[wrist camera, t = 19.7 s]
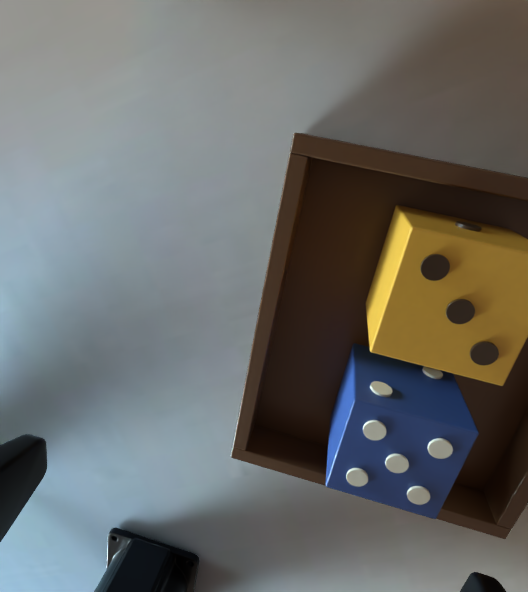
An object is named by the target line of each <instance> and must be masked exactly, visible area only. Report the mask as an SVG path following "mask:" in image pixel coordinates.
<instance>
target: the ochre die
mask: <svg viewBox="0 0 528 592" xmlns="http://www.w3.org/2000/svg"><path fill="white" fill-rule="evenodd" d="M366 314H367V324H368V335H369V346H370V352H372V353H376V354H380V355H384V356H388V357H391V358H395V359H399V360H403V361H407V362H411V363H415V364H419V365H422V366H426V367H430V368H434V369H438V370H442V371H446V372H450V373H453V374H457V375H461V376H465V377H469V378H473V379H477V380H481V381H484V382H488V383H492V384H496V385H500V386H503V385H504V383H505V381H506V379H507V377H508V375H509V373H510V371H511V369H512V367H513V365H514V363H515V361H516V359H517V357H518V355H519V353H520V351H521V349H522V347H523V345H524V343H525V342H526V340H527V338H528V239H526V238H525V237H523V236H521V235H519V234H517V233H516V232H514V231H512V230H510V229H507V228H502V227H498V226H493V225H488V224H484V223H479V222H474V221H470V220H465V219H461V218H456V217H451V216H447V215H442V214H437V213H433V212H428V211H423V210H419V209H414V208H409V207H405V206H400V205H396V207H395V210H394V213H393V216H392V219H391V223H390V226H389V229H388V232H387V236H386V239H385V242H384V245H383V248H382V252H381V255H380V258H379V261H378V265H377V268H376V271H375V274H374V277H373V281H372V284H371V287H370V290H369V293H368V297H367V300H366Z"/></svg>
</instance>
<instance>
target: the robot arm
mask: <svg viewBox="0 0 528 592" xmlns="http://www.w3.org/2000/svg"><path fill="white" fill-rule="evenodd" d="M46 469H47V451H46V441H45V440H44V439H43V438H40V437H37V436H34V435H30V434H25V435H22V436H20V437H17V438H15V439H13V440H10V441H8V442H6V443H4V444H1V445H0V542H1V540H2V539H3V538H4V536H5V535H6V533H7V532H8V530H9V529H10V527H11V526H12V524H13V523H14V521H15V520H16V518H17V516H18V515H19V513H20V512H21V510H22V509H23V507H24V506H25V504H26V503H27V501H28V500H29V498H30V497H31V495H32V494H33V492H34V491H35V489H36V488H37V486H38V485H39V483H40V482H41V480H42V479H43V477H44V475H45V473H46ZM198 565H199V557H198V556H197V555H196V554H194V553H191V552H188V551H185V550H182V549H179V548H176V547H173V546H170V545H167V544H164V543H161V542H158V541H155V540H152V539H149V538H146V537H143V536H140V535H137V534H134V533H131V532H128V531H125V530H122V529H119V528H113V529H111V531H110V533H109V534H108V545H107V570H106V572H105V574H104V575H103V577H102V579H101V581H100V582H99V584H98V586H97V588H96V589H95V591H94V592H194V588H195V582H196V576H197V571H198ZM460 592H506V591H505V589H504V588H503V586H502V585H501V584H500V583H499V582H498V581H497V580H496V579H495V578H493V577H490V576H487V575H484V574H481V573H477V572H474V573H471V574H470V576H469V577H468V579H467V581H466V582H465V584H464V586H463V587H462V589H461V591H460Z"/></svg>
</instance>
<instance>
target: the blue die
mask: <svg viewBox="0 0 528 592" xmlns="http://www.w3.org/2000/svg"><path fill="white" fill-rule="evenodd" d="M478 435H479V432H478V429H477V427H476V425H475V422H474V420H473V418H472V416H471V413H470V411H469V409H468V407H467V404H466V402H465V400H464V397H463V395H462V393H461V391H460V388H459V386H458V384H457V381H456V379H455V377H454V375H453V373H450V372H446V371H442V370H438V369H434V368H430V367H426V366H422V365H419V364H415V363H411V362H407V361H403V360H399V359H395V358H391V357H388V356H384V355H380V354H376V353H372V352H370V347H367V346H364V345H360V344H356V343H354V344H353V345H352V349H351V352H350V355H349V358H348V362H347V365H346V368H345V371H344V374H343V378H342V381H341V384H340V387H339V391H338V394H337V397H336V400H335V404H334V407H333V410H332V413H331V417H330V428H329V442H328V455H327V469H326V483H325V485H326V487H329V488H332V489H335V490H339V491H342V492H345V493H349V494H352V495H355V496H359V497H362V498H365V499H369V500H372V501H375V502H379V503H382V504H386V505H389V506H392V507H396V508H399V509H402V510H406V511H409V512H412V513H416V514H419V515H422V516H426V517H429V518H432V519H436V518H437V516H438V514H439V512H440V510H441V508H442V506H443V504H444V502H445V500H446V498H447V496H448V494H449V492H450V490H451V488H452V486H453V484H454V482H455V480H456V478H457V476H458V474H459V472H460V470H461V468H462V466H463V464H464V462H465V460H466V458H467V456H468V454H469V452H470V450H471V448H472V446H473V444H474V442H475V441H476V439H477V437H478Z"/></svg>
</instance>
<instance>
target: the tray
mask: <svg viewBox="0 0 528 592" xmlns="http://www.w3.org/2000/svg"><path fill="white" fill-rule="evenodd" d="M290 152H291V153H290V154H289V159H288V164H287V169H286V174H285V179H284V185H283V190H282V195H281V200H280V205H279V210H278V215H277V221H276V226H275V231H274V236H273V241H272V246H271V251H270V257H269V262H268V267H267V272H266V277H265V282H264V287H263V293H262V298H261V303H260V308H259V313H258V318H257V323H256V329H255V334H254V339H253V344H252V349H251V354H250V359H249V365H248V370H247V375H246V380H245V385H244V390H243V395H242V401H241V406H240V411H239V416H238V421H237V426H236V431H235V437H234V442H233V447H232V452H231V458H235V459H238V460H241V461H245V462H248V463H251V464H255V465H258V466H261V467H265V468H268V469H272V470H275V471H278V472H282V473H285V474H288V475H292V476H295V477H298V478H302V479H305V480H308V481H312V482H315V483H318V484H322V485H325V483H326V469H327V455H328V442H329V428H330V417H331V413H332V410H333V407H334V404H335V400H336V397H337V394H338V391H339V387H340V384H341V381H342V378H343V374H344V371H345V368H346V365H347V362H348V358H349V355H350V352H351V349H352V345H353V344H354V343H356V344H360V345H364V346H367V347H370V346H369V335H368V324H367V314H366V300H367V297H368V293H369V290H370V287H371V284H372V281H373V277H374V274H375V271H376V268H377V265H378V261H379V258H380V255H381V252H382V248H383V245H384V242H385V239H386V236H387V232H388V229H389V226H390V223H391V219H392V216H393V213H394V210H395V207H396V205H400V206H405V207H409V208H414V209H419V210H423V211H428V212H433V213H437V214H442V215H447V216H451V217H456V218H461V219H465V220H470V221H474V222H479V223H484V224H488V225H493V226H498V227H502V228H507V229H510V230H512V231H514V232H516V233H517V234H519V235H521V236H523V237H525V238H526V239H528V178H525V177H520V176H515V175H510V174H505V173H500V172H495V171H490V170H485V169H480V168H475V167H470V166H465V165H460V164H455V163H449V162H444V161H439V160H434V159H429V158H424V157H419V156H414V155H409V154H404V153H399V152H394V151H389V150H384V149H379V148H374V147H369V146H364V145H358V144H353V143H348V142H343V141H338V140H333V139H328V138H323V137H318V136H313V135H308V134H303V133H294V134H293V139H292V144H291V149H290ZM453 375H454V377H455V379H456V381H457V384H458V386H459V388H460V391H461V393H462V395H463V397H464V400H465V402H466V404H467V407H468V409H469V411H470V413H471V416H472V418H473V420H474V422H475V425H476V427H477V429H478V432H479V435H478V437H477V439H476V441H475V442H474V444H473V446H472V448H471V450H470V452H469V454H468V456H467V458H466V460H465V462H464V464H463V466H462V468H461V470H460V472H459V474H458V476H457V478H456V480H455V482H454V484H453V486H452V488H451V490H450V492H449V494H448V496H447V498H446V500H445V502H444V504H443V506H442V508H441V510H440V512H439V514H438V516H437V518H436V519H439V520H443V521H446V522H449V523H453V524H456V525H459V526H463V527H466V528H469V529H473V530H476V531H479V532H483V533H486V534H490V535H493V536H496V537H500V538H503V539H506V537H507V535H508V534H509V532H510V531H511V529H512V527H513V526H514V524H515V523H516V521H517V519H518V518H519V516H520V514H521V513H522V511H523V510H524V508H525V506H526V505H527V503H528V338H527V340H526V342H525V343H524V345H523V347H522V349H521V351H520V353H519V355H518V357H517V359H516V361H515V363H514V365H513V367H512V369H511V371H510V373H509V375H508V377H507V379H506V381H505V383H504V385H503V386H500V385H496V384H492V383H488V382H484V381H481V380H477V379H473V378H469V377H465V376H461V375H457V374H453ZM325 486H326V485H325Z"/></svg>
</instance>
